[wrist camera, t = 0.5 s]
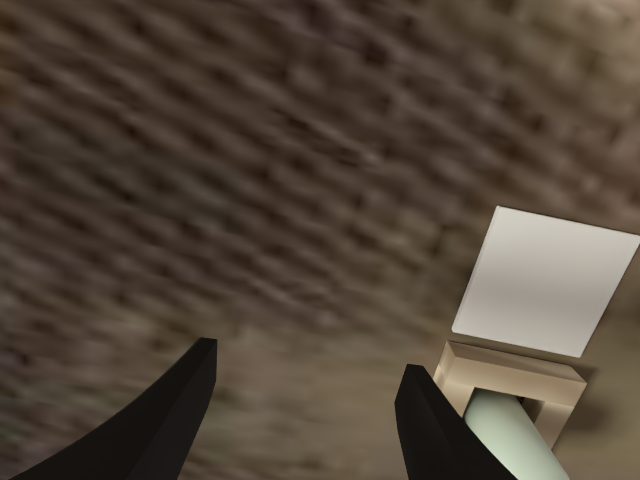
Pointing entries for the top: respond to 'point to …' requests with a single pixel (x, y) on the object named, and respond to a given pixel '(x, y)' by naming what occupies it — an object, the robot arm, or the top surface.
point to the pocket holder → (511, 383)
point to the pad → (543, 281)
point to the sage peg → (511, 435)
